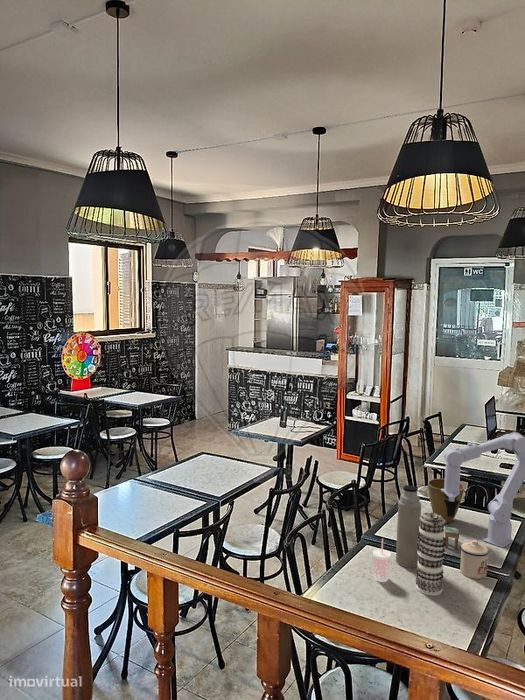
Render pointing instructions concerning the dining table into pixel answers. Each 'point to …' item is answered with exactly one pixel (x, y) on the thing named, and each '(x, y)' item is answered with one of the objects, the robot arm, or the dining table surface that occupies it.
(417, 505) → the thermos bottle
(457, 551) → the mat
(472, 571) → the teacup with lid
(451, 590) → the dining table surface
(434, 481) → the plant pot
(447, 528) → the stool
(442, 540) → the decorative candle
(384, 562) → the beverage cup
